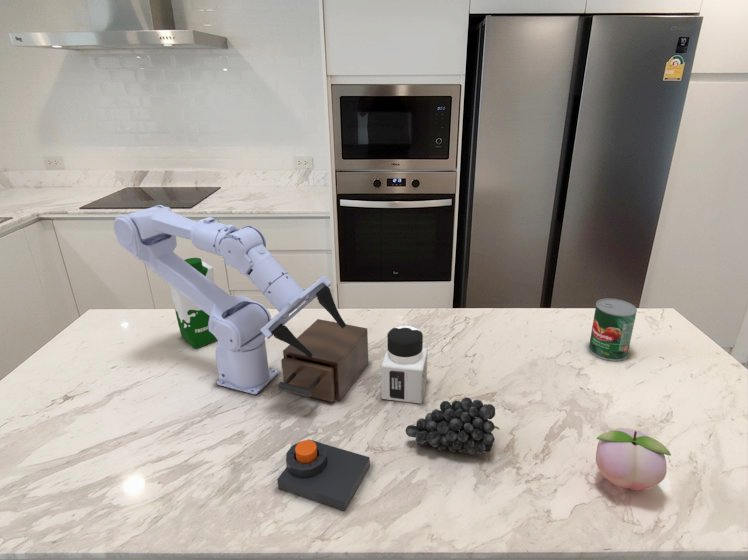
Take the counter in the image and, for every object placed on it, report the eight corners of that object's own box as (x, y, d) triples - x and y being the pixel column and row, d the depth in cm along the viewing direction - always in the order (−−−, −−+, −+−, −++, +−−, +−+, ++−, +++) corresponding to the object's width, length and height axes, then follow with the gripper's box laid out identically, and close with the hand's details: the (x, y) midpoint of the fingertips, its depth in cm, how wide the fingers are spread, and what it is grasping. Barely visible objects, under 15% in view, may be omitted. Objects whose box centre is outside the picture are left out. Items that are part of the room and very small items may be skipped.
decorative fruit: (649, 468, 74) (663, 416, 70) (665, 512, 67) (681, 456, 63) (584, 458, 76) (594, 407, 72) (593, 499, 69) (605, 445, 65)
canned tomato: (630, 348, 106) (639, 303, 102) (624, 365, 100) (634, 318, 96) (592, 338, 110) (599, 295, 106) (584, 354, 104) (592, 309, 100)
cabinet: (339, 401, 90) (337, 362, 87) (286, 388, 94) (282, 350, 91) (368, 363, 102) (367, 328, 98) (320, 353, 106) (317, 318, 103)
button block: (275, 487, 72) (272, 469, 70) (305, 447, 79) (304, 430, 78) (344, 511, 68) (343, 493, 66) (369, 466, 75) (369, 448, 74)
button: (292, 460, 72) (291, 451, 72) (303, 446, 75) (302, 437, 74) (310, 466, 71) (309, 457, 71) (321, 452, 74) (320, 443, 73)
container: (421, 404, 89) (423, 344, 84) (381, 399, 91) (380, 339, 86) (426, 380, 96) (428, 323, 91) (388, 376, 98) (388, 319, 93)
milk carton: (193, 352, 107) (175, 269, 99) (176, 337, 113) (158, 258, 105) (229, 337, 112) (215, 258, 104) (211, 324, 118) (197, 248, 110)
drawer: (320, 418, 85) (317, 386, 82) (270, 404, 88) (266, 373, 86) (360, 366, 99) (359, 337, 97) (316, 356, 103) (314, 329, 100)
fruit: (404, 407, 74) (503, 408, 73) (405, 390, 82) (494, 390, 81) (405, 461, 75) (502, 463, 74) (406, 439, 83) (494, 440, 82)
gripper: (240, 307, 78) (295, 369, 78) (307, 252, 82) (361, 310, 81) (245, 314, 85) (296, 371, 84) (307, 262, 89) (357, 316, 88)
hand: (328, 341), depth 83 cm, fingers open, 7 cm apart
